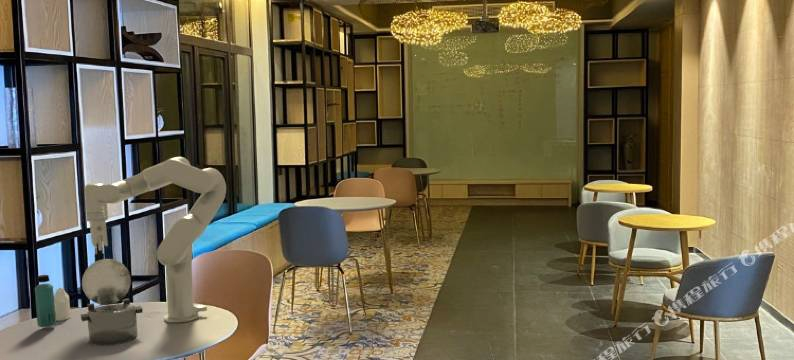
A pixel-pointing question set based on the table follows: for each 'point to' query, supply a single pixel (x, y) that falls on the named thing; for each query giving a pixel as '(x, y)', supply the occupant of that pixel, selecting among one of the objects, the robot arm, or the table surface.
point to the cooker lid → (106, 281)
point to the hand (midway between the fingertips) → (99, 264)
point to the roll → (62, 305)
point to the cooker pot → (112, 323)
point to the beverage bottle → (45, 303)
